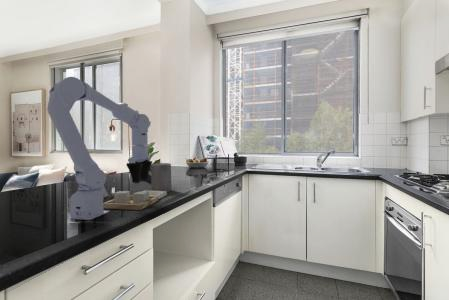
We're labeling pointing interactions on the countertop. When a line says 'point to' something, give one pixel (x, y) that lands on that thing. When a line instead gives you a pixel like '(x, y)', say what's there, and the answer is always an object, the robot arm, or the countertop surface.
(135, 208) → the wooden tray
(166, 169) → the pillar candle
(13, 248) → the countertop surface
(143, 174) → the robot arm
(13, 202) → the countertop surface
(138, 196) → the stone
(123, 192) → the stone
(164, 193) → the stoneware dish
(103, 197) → the flask
